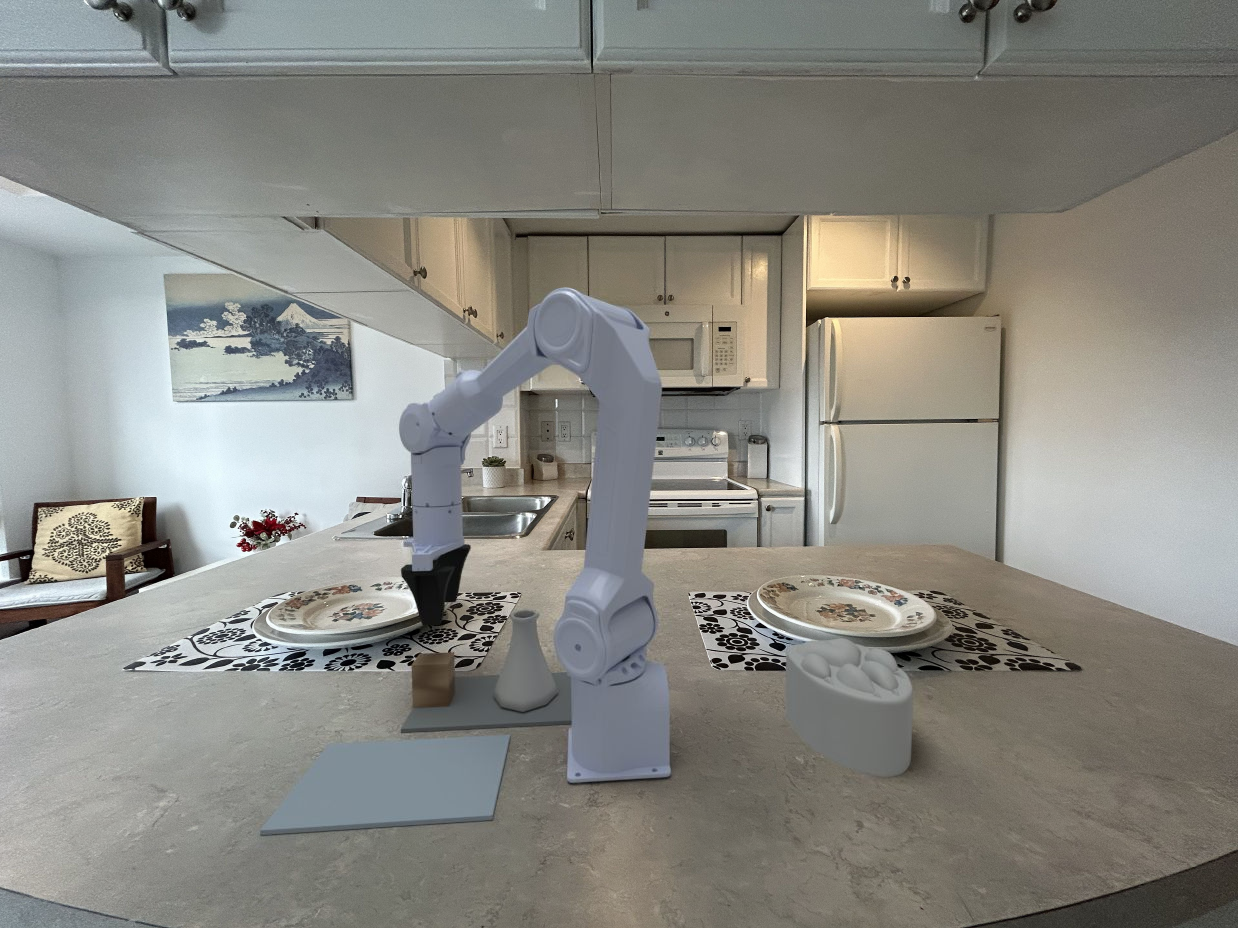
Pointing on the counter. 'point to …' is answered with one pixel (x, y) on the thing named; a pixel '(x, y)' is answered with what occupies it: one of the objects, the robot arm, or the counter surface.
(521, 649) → the flask
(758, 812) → the counter surface
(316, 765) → the slate mat
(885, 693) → the lumpy-topped squat cylinder
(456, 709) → the charcoal mat
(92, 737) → the counter surface
